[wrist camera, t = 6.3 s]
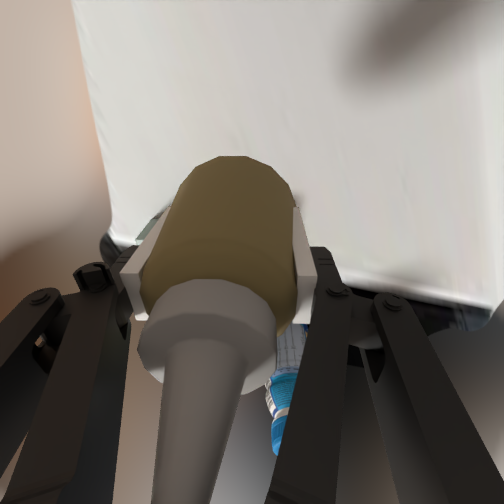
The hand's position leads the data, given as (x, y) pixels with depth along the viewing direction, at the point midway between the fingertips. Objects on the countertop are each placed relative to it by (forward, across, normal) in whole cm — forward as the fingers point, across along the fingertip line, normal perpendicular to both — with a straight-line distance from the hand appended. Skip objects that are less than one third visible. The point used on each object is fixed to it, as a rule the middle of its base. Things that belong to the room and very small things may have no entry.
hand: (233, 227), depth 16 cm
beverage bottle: (+20, +7, -32) cm, 38 cm away
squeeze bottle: (+5, 0, 0) cm, 5 cm away
